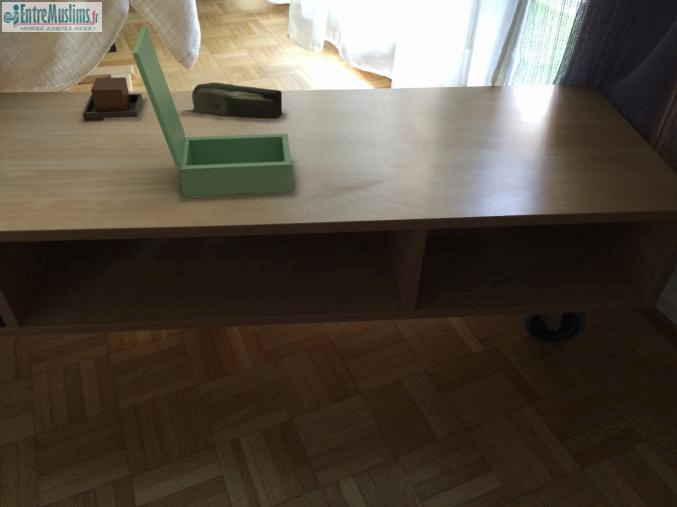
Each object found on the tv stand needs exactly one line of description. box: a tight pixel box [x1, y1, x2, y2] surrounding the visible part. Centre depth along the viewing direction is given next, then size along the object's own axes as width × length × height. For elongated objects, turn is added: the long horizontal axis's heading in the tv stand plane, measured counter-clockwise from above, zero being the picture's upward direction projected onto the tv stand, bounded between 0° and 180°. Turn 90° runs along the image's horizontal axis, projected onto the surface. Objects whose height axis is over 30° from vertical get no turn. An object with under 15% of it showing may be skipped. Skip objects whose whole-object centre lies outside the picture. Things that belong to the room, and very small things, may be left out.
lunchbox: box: [178, 133, 293, 198], centre depth 79 cm, size 14×8×5 cm, turn 97°
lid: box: [132, 26, 186, 167], centre depth 72 cm, size 14×8×1 cm
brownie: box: [90, 76, 131, 112], centre depth 93 cm, size 4×4×4 cm
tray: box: [82, 93, 144, 122], centre depth 95 cm, size 8×6×2 cm
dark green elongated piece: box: [184, 82, 283, 120], centre depth 94 cm, size 5×3×15 cm
